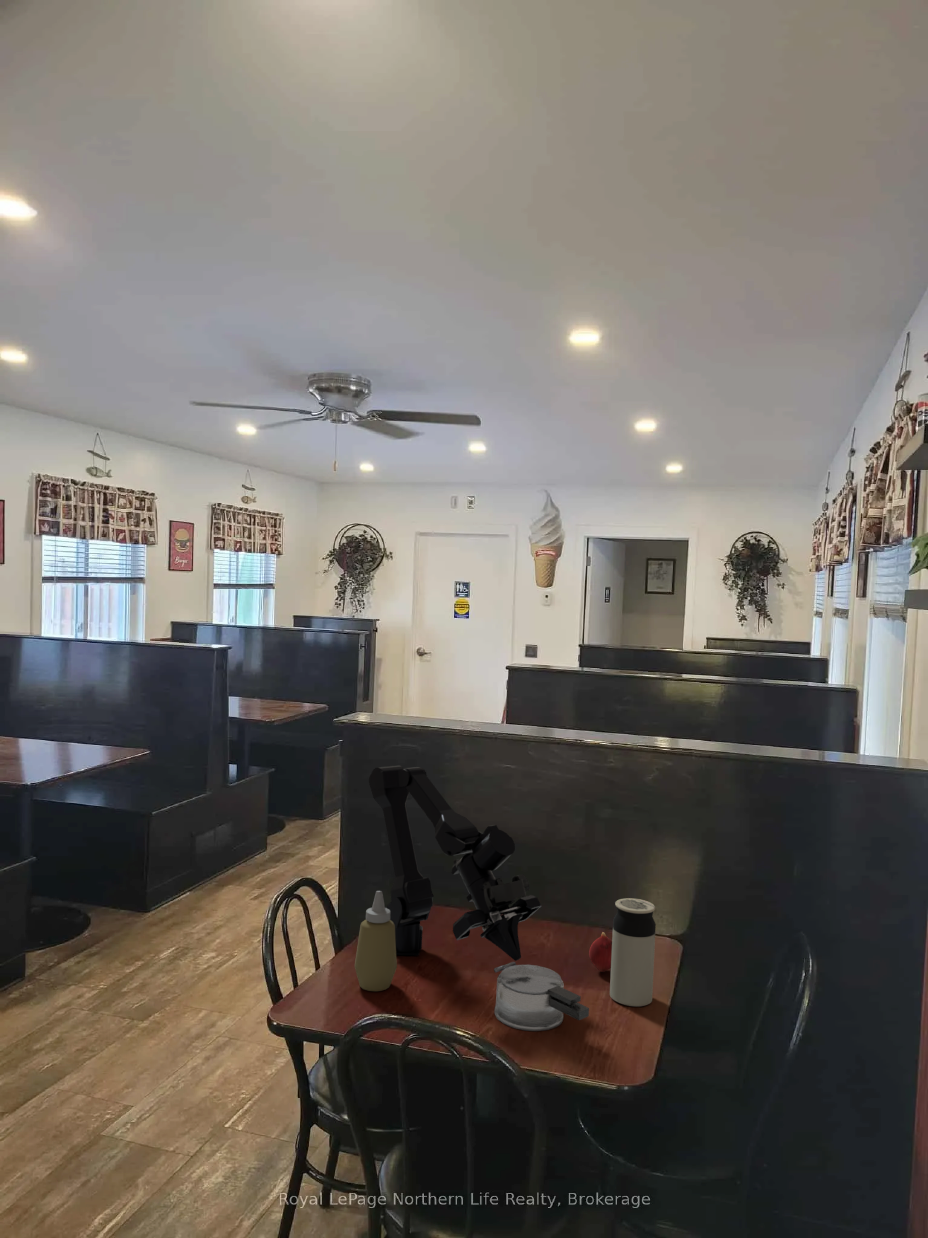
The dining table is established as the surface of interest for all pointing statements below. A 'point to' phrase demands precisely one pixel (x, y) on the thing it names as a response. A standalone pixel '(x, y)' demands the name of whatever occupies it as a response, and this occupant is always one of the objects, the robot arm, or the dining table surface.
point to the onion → (601, 953)
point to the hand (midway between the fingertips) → (518, 959)
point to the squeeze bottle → (376, 948)
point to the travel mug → (633, 952)
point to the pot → (533, 1009)
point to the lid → (535, 981)
